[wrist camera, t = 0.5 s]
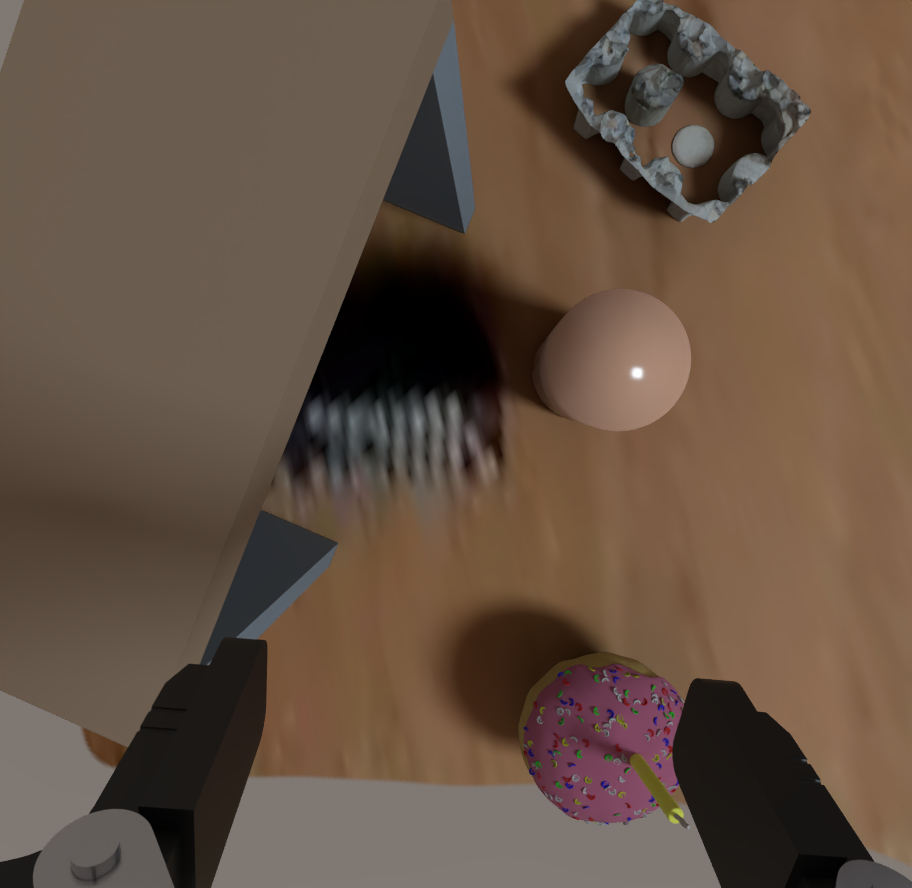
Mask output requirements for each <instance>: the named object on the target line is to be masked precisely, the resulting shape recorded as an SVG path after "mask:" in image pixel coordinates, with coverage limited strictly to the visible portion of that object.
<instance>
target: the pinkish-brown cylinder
mask: <svg viewBox="0 0 912 888" xmlns="http://www.w3.org/2000/svg"><path fill="white" fill-rule="evenodd" d="M690 367H691V350H690V344H689V340H688V337H687V334H686V331H685V329H684V327H683V325H682V323H681V322H680V320H679V319H678V317H677V316H676V315H675V314H674V312H673V311H672V310H671V309H670V308H669V307H667V306H666V305H665V304H664V303H663V302H661V301H660V300H658V299H657V298H655V297H653V296H651V295H649V294H646V293H643V292H640V291H635V290H629V289H613V290H607V291H602V292H599V293H596V294H593V295H591V296H589V297H587V298H585V299H583V300H582V301H580V302H579V303H577V304H576V305H575V306H574V307H573V308H571V309H570V310H569V311H568V312H567V314H566V315H565V316H564V317H563V318H562V319H561V321H560V322H559V323H558V324H557V325H556V327H555V328H554V329H553V330H552V331H551V333H550V334H549V335H548V336H547V337H546V339H545V340H544V341H543V342H542V344H541V345H540V347H539V349H538V351H537V353H536V356H535V358H534V363H533V382H534V386H535V389H536V391H537V394H538V396H539V397H540V399H541V400H542V402H543V403H544V404H545V405H546V406H547V407H548V408H549V409H550V410H551V411H552V412H554V413H555V414H557V415H559V416H561V417H563V418H566V419H569V420H572V421H576V422H579V423H582V424H585V425H589V426H592V427H595V428H598V429H603V430H608V431H628V430H633V429H637V428H641V427H644V426H646V425H648V424H650V423H652V422H654V421H656V420H657V419H659V418H660V417H662V416H663V415H664V414H665V413H667V412H668V411H669V410H670V409H671V408H672V407H673V406H674V404H675V403H676V402H677V400H678V399H679V398H680V396H681V394H682V392H683V390H684V389H685V386H686V383H687V381H688V377H689V373H690Z"/></svg>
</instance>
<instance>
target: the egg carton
mask: <svg viewBox="0 0 912 888" xmlns="http://www.w3.org/2000/svg"><path fill="white" fill-rule="evenodd" d="M656 30H659V31H660V32H662V33H664V34H665V35H666V36H667V37H668V38H669V39H670V40H671V44H670V46H669V49H668V55H667V58H668V64H669V66H670V67H671V69H672V70H670V69H669V68H667V67H666V66H664V65H663V64H655V65H648V66H646V67H645V68H643V69H641V70H640V71H639V72H638V73H637V74H636V75H635V77H634V78H633V82H632V84H631V87H630V89H629V92H628V94H627V97H626V100H625V113H626V116H627V117H626V116H625V115H624V114H622V113H619V112H615V111H613V110H610V111H608V112H605V113H602V114H600V115H594V113H593V108H594V107H593V101H592V100H591V99H590V98H583V88H582V84H584V83H585V84H586V83H590V84H591V85H605V84H608V83H610V82H612V81H613V80H614V79H615V78H616V77H617V75H618V73H619V71H620V68H621V65H622V62H623V59H624V57H625V55H626V53H627V52H628V50H629V49H628V47H627V45H628V42H629V40H630V34H629V33H631V34H634V35H637V36H646V35H649V34H651V33H652V32H654V31H656ZM700 73H704V74H705V75H707V76H708V77H710V78H712V79H714V80H715V81H717V82H718V83H719V84H718V86H717V88H716V91H715V95H714V97H715V104H716V107H717V109H718V111H719V112H720V113H721V114H723V115H724V116H726V117H729V118H732V119H738V118H742V117H745V116H747V115H748V114H750V113H752V114H753V115H755V116H756V117H757V118H759V119H760V120H761V121H762V123H763V125H764V130H763V132H762V135H761V144H762V147H763V149H764V152H765V153H766V155H767V156H765V155H763V154H757V153H752V154H748V155H745V156H744V157H742V158H740V159H738V160H737V161H736V162H735V163H734V164H733V165H732V166H731V167H730V168H729V169H728V170H727V171H726V172H725V173H724V174H723V176H722V177H721V179H720V182H719V184H718V195H719V197H720V200H721V201H719V200H712V201H707V202H704V203H701V204H697V205H695V204H691V203H688V202H687V201H686V200H685V199H684V197H683V196H682V195H681V189H682V185H683V183H682V180H683V176H682V175H681V173H680V171H679V170H678V168H677V167H675V166H674V165H673V164H672V163H670V162H669V157H668V156H666V157H663V158H654V159H653V160H652V161H650V162H649V163H648V164H647V165H646V166H644V167H642V166H641V159H640V157H639V156H638V155H636V154H635V147H634V146H633V140H634V138H635V130H634V128H632V127H631V126H630V124H629V122H628V120H627V118H628V119H629V120H630V121H631V122H632V123H633V124H635V125H638V126H643V127H646V126H653V125H655V124H657V123H658V122H660V121H661V120H662V118H663V117H664V115H665V114H666V113H667V111H668V109H669V108H670V106H671V104H672V103H673V101H674V100H675V98H676V97H677V95H678V94H679V91H680V90H681V88H682V86H683V83H684V80H683V77H688V78H689V77H693V76H696V75H698V74H700ZM682 76H683V77H682ZM565 83H566V87H567V89H568V91H569V93H570V94H571V96H572V98H573V100H574V102H575V103H576V105H577V106H578V113H577V117H576V120H575V123H574V129H575V130H576V131H577V132H578V133H579V134H580V135H581V136H582V137H584V138H585V139H588V138H590V137H591V136H593V135H595V134H598V133H601V136H602V138H603V139H604V140H606V141H607V142H612V143H614V144H615V145H616V146H617V148H618V149H619V151H620V152H621V154H622V155H623V157H624V160H623V163H622V165H621V167H620V170H621V171H622V172H623V173H624V174H625V175H626V176H627V177H629V178H630V179H631V180H633V181H634V180H636V179H637V178H639V177H641V176H643V177H644V178H645V179H646V180H647V182H648V183H649V184H650V185H651V186H652V187H653V188H654V189H656V190H657V191H658V192H660V193H661V194H663V195H664V196H666V197H667V198H668V199H670V200H671V203H670V205H669V206H668V208H667V211H668V213H669V214H670V215H671V216H672V217H674V218H675V219H676V220H677V221H679V222H682V221H683V220H684V219H685V218H687V217H689V216H691V215H695V216H697V217H700V218H702V219H705V220H707V221H708V222H710V223H713V222H714V221H716V220H717V219H718V218H719V216H720V215H721V214H722V213H723V212H724V211H725V209H726V208H727V207H728V206H730V205H731V204H732V203H733V202H734V201H735V200H736V199H737V198H738V197H739V196H740V195H741V194H742V193H743V191H744V190H745V188H746V187H747V186H748V184H750V185H752V184H753V183H754V182H756V181H757V180H758V179H759V178H760V177H761V176H762V175H763V174H764V173H765V172H766V171H767V170H768V168H769V167H770V165H771V162H772V160H773V158H774V156H775V154H776V153H777V152H778V151H779V150H780V149H781V148H782V147H783V145H784V144H785V143H786V142H787V141H788V140H789V139H790V138H791V137H792V136H793V135H794V134H795V133H796V132H797V131H798V129H799V128H800V127H801V126H802V125H803V124H804V123H805V122H806V120H807V119H808V118H809V114H811V110H810V109H809V106H808V105H806V104H804V103H803V102H802V101H801V100H800V96H799V95H798V94H797V93H796V92H795V91H794V90H791V89H790V88H788V87H787V85H786V84H785V83H784V81H783V80H781V79H779V78H778V77H777V76H775V75H774V74H772V73H771V72H769V71H768V70H767V71H763V72H762V71H760V70H759V69H758V68H757V67H756V66H755V65H754V64H753V63H752V62H751V61H750V60H749V58H748V57H747V55H746V54H745V53H744V52H743V51H741V50H736V49H735V48H734V47H732V46H731V45H730V44H729V43H728V42H727V41H726V40H724V39H723V38H722V37H721V36H720V35H719V34H718V33H717V32H716V31H715V29H714V28H713V27H712V26H711V25H709V24H707V23H705V22H704V21H702V20H700V19H698V18H697V17H695V16H693V15H691V14H689V13H686V12H683V11H682V10H681V9H679V8H678V7H676V6H674V5H670V4H666V3H664V2H663V0H637V1H636V2H635V3H634V5H633V6H632V7H631V8H630V9H629V10H628V11H626V12H625V13H624V14H623V15H622V16H621V17H620V19H619V20H618V21H617V22H616V23H615V24H614V26H613V27H612V28H611V29H610V30H609V31H608V32H607V33H606V34H605V35H604V36H603V37H602V38H601V39H600V41H599V42H598V43H597V44H596V45H595V46H594V47H593V48H592V49H591V50H590V51H589V52H588V54H587V55H586V56H585V57H584V58H583V60H582V61H581V62H580V64H579V65H578V66H576V67H575V69H574V70H573V71H572V72H571V74H570V75H569V77H568V78H567V79H566V81H565ZM713 150H714V140H713V137H712V135H711V134H710V132H709V131H708V130H706V129H705V128H704V127H701V126H699V125H689V126H686V127H684V128H682V129H681V130H679V131H678V132H677V134H676V135H675V137H674V139H673V143H672V151H673V155H674V157H675V159H676V160H677V162H678V163H679V164H681V165H683V166H685V167H689V168H695V167H700V166H702V165H704V164H705V163H707V162H708V161H709V159H710V158H711V156H712V154H713ZM630 152H632V153H633V154H634V156H633V157H632V156H630V154H629V153H630Z"/></svg>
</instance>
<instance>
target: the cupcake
mask: <svg viewBox="0 0 912 888" xmlns="http://www.w3.org/2000/svg"><path fill="white" fill-rule="evenodd" d="M683 702H684V701H683V699H682V698H681V697H680V696H679V694H678V693H677V691H676V690H675V689H674V687H673V686H672V685H671V684H670V683H669V682H668V681H667V680H665V679H664V678H662V677H658V676H657V675H656V674H655V673H654V672H652V671H651V670H650V669H649V668H647V667H646V666H645V665H643V664H642V663H640V662H639V661H637V660H634V659H631V658H626V657H623V656H620V655H616V654H613V653H607V652H600V653H593V654H589V655H584V656H581V657H578V658H575V659H571V660H565V661H562V662H559V663H558V664H556V665H555V666H554V667H553V668H552V669H550V670H549V671H548V672H547V673H546V674H545V675H544V676H543V677H542V678H541V679H540V680H539V681H538V682H537V683H536V684H535V685H534V686H533V687H532V688H531V689H530V691H529V692H528V694H527V697H526V700H525V704H524V707H523V710H522V713H521V717H520V721H519V727H518V733H519V742H520V748H521V753H522V756H523V759H524V762H525V764H526V766H527V768H528V770H529V773H530V774H531V775H532V776H533V778H534V780H535V782H536V784H537V786H538V788H539V789H540V790H541V792H542V793H543V794H544V795H545V796H546V797H547V798H548V799H549V800H550V801H551V802H552V803H553V804H554V805H556V806H557V807H558V808H559V809H560V810H562V811H563V812H564V813H565V814H567V815H568V816H570V817H572V818H574V819H577V820H579V819H580V820H584V821H585V822H587V823H588V824H590V823H589V822H588V821H592V822H595V823H596V824H597V825H602V824H604V825H606V824H609V823H616V822H623V824H624V825H628V824H629V821H630V820H634V819H637V818H643V817H647V814H649V813H652V812H653V811H654V810H656V809H657V808H658V807H660V808H661V809H662V810H663V812H664V813H665V815H666V816H667V818H668V819H669V820H670V821H671V822H672V823H679V822H680V823H681V825H682V826H683V827H684V828H686V829H690V825H689V824H687V823H686V822H685V820H684V819H683V812H682V810H681V808H680V807H679V806H678V804H677V803H676V802H675V800H674V799H673V798H672V796H671V795H672V794H673V793H674V792H675V790H676V789H677V787H678V786H679V783H678V780H677V778H676V775H675V771H674V767H673V759H672V748H673V741H674V737H675V733H676V730H677V727H678V723H679V720H680V717H681V713H682V710H683V707H684V703H683ZM626 821H628V822H627V823H626ZM598 822H599V823H601V824H599V823H598ZM625 823H626V824H625Z"/></svg>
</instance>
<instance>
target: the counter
mask: <svg viewBox="0 0 912 888" xmlns="http://www.w3.org/2000/svg"><path fill="white" fill-rule="evenodd" d="M383 200H384V201H387V202H389V203H391V204H394V205H396V206H399V207H401V208H404V209H406V210H408V211H411V212H413V213H416V214H418V215H421V216H423V217H425V218H428V219H430V220H433V221H435V222H437V223H440V224H442V225H445V226H447V227H450V228H452V229H454V230H457V231H459V232H462V233H464V234H465V232H466V229H467V227H468V224H469V222H470V220H471V217H472V215H473V212H474V210H475V202H474V193H473V184H472V176H471V167H470V158H469V149H468V141H467V132H466V123H465V114H464V106H463V97H462V88H461V79H460V71H459V62H458V53H457V44H456V36H455V27H454V18H453V9H452V1H451V0H24V2H23V5H22V8H21V11H20V14H19V17H18V20H17V24H16V26H15V30H14V33H13V36H12V38H11V42H10V44H9V47H8V50H7V53H6V57H5V59H4V62H3V66H2V69H1V72H0V690H1V691H3V692H5V693H7V694H9V695H12V696H14V697H16V698H18V699H21V700H23V701H25V702H27V703H30V704H32V705H34V706H36V707H39V708H41V709H43V710H45V711H48V712H50V713H52V714H55V715H57V716H59V717H61V718H63V719H66V720H68V721H70V722H72V723H75V724H77V725H79V726H81V727H84V728H86V729H88V730H90V731H92V732H95V733H97V734H99V735H101V736H104V737H106V738H108V739H110V740H113V741H115V742H117V743H119V744H122V745H124V746H126V747H129V745H130V743H131V741H132V740H133V738H134V736H135V734H136V733H137V731H139V730H140V726H141V724H142V722H143V721H144V719H145V717H146V715H147V714H148V712H149V711H151V708H152V705H153V703H154V702H155V700H156V698H157V696H158V695H159V693H160V691H161V689H162V688H163V686H164V684H165V683H166V682H167V681H168V680H169V679H171V678H172V677H173V676H174V675H176V674H177V673H178V672H179V671H180V670H182V669H183V668H184V667H185V666H187V665H188V664H199V665H210V663H211V661H212V659H213V657H214V655H215V653H216V651H217V649H218V647H219V645H220V643H221V641H222V639H223V638H224V637H233V638H244V639H257V638H258V637H259V636H260V635H261V634H262V633H263V632H264V631H265V630H266V629H267V628H268V627H269V626H270V625H271V624H272V623H273V622H274V621H275V620H276V619H277V618H278V617H279V616H280V615H281V614H282V613H283V612H284V611H285V610H286V609H287V608H288V607H289V606H290V605H291V604H292V603H293V602H294V601H295V600H296V599H297V598H298V597H299V596H300V595H301V594H302V593H303V592H304V591H305V590H306V589H307V588H308V587H309V586H310V585H311V584H312V583H313V582H314V581H315V580H316V579H317V578H318V577H319V576H320V575H321V574H322V573H323V572H324V571H325V570H326V569H327V568H328V567H329V565H330V562H331V560H332V557H333V555H334V552H335V550H336V547H337V545H338V543H336V542H334V541H332V540H330V539H327V538H325V537H323V536H320V535H318V534H316V533H313V532H311V531H309V530H306V529H304V528H302V527H299V526H297V525H295V524H292V523H290V522H288V521H285V520H283V519H281V518H278V517H276V516H274V515H272V514H269V513H267V512H265V511H262V510H261V507H262V505H263V502H264V500H265V497H266V495H267V492H268V490H269V487H270V485H271V482H272V480H273V477H274V474H275V472H276V469H277V467H278V464H279V462H280V459H281V457H282V454H283V452H284V449H285V447H286V444H287V442H288V439H289V436H290V434H291V431H292V429H293V426H294V424H295V421H296V419H297V416H298V414H299V411H300V409H301V406H302V404H303V401H304V398H305V396H306V393H307V391H308V388H309V386H310V383H311V381H312V378H313V376H314V373H315V371H316V368H317V365H318V363H319V360H320V358H321V355H322V353H323V350H324V348H325V345H326V343H327V340H328V338H329V335H330V333H331V330H332V327H333V325H334V322H335V320H336V317H337V315H338V312H339V310H340V307H341V305H342V302H343V300H344V297H345V295H346V292H347V289H348V287H349V284H350V282H351V279H352V277H353V274H354V272H355V269H356V267H357V264H358V262H359V259H360V257H361V254H362V251H363V249H364V246H365V244H366V241H367V239H368V236H369V234H370V231H371V229H372V226H373V224H374V221H375V218H376V216H377V213H378V211H379V208H380V206H381V203H382V201H383Z"/></svg>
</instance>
